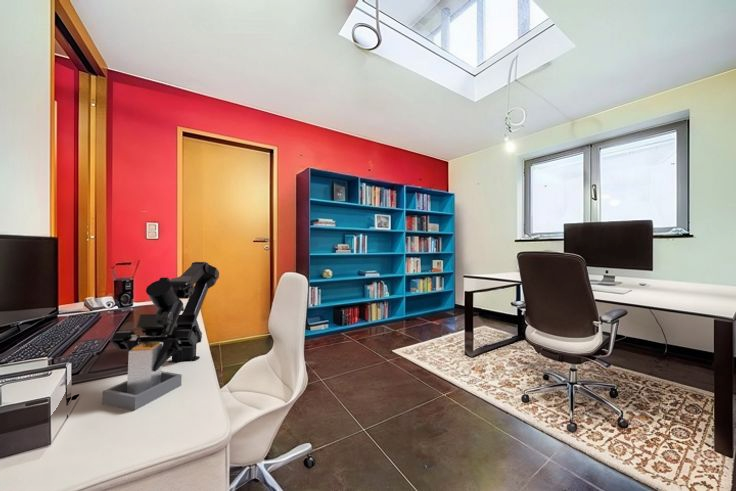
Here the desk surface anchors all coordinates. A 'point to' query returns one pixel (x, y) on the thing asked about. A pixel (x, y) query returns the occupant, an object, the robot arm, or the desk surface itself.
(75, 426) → the desk surface
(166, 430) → the desk surface
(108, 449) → the desk surface
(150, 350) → the block
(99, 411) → the desk surface
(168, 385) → the case
